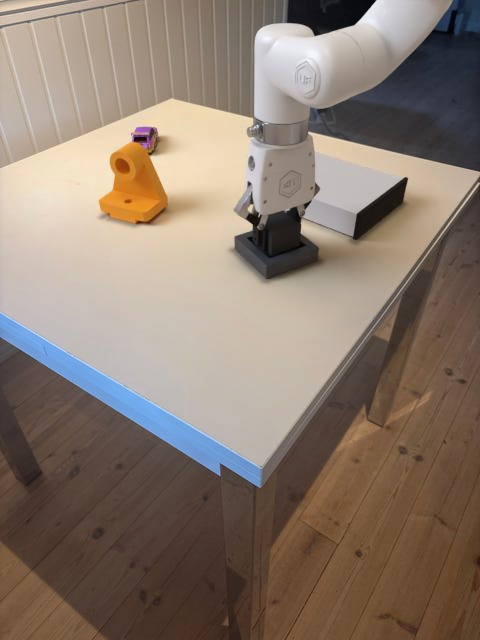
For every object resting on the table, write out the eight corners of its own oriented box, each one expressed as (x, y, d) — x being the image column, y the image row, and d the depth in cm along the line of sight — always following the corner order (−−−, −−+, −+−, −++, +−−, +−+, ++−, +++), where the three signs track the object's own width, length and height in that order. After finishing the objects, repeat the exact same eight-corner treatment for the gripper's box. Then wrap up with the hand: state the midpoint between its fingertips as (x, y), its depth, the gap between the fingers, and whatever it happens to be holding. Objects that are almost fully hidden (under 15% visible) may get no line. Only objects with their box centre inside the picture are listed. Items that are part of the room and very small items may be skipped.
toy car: (160, 136, 121) (158, 117, 118) (153, 155, 112) (151, 135, 109) (138, 136, 121) (135, 117, 118) (129, 155, 112) (126, 135, 109)
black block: (281, 230, 82) (281, 209, 80) (299, 246, 79) (301, 224, 76) (253, 240, 80) (253, 218, 78) (271, 255, 77) (272, 233, 74)
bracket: (99, 214, 92) (85, 152, 84) (121, 198, 97) (110, 137, 89) (147, 226, 88) (137, 162, 80) (168, 208, 93) (160, 146, 85)
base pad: (283, 232, 86) (284, 220, 84) (317, 260, 80) (319, 247, 78) (234, 248, 82) (234, 236, 81) (266, 279, 76) (266, 265, 74)
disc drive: (356, 240, 84) (361, 214, 81) (255, 201, 95) (255, 176, 92) (403, 202, 94) (409, 178, 91) (306, 170, 105) (308, 148, 102)
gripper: (241, 151, 62) (242, 268, 74) (347, 125, 68) (332, 237, 80) (213, 132, 67) (219, 245, 78) (314, 110, 73) (305, 217, 85)
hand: (276, 240), depth 79 cm, fingers closed on black block, 5 cm apart
